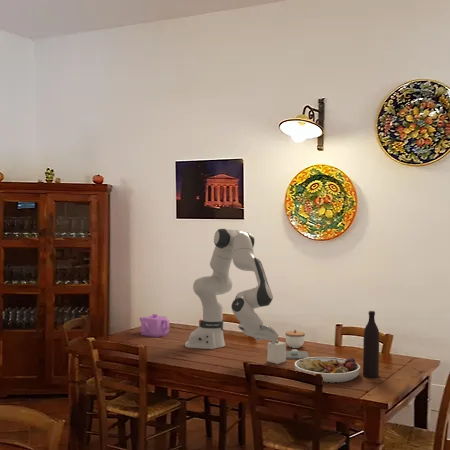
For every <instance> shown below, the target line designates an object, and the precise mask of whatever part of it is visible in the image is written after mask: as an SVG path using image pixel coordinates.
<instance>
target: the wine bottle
mask: <svg viewBox="0 0 450 450" xmlns="http://www.w3.org/2000/svg"><path fill="white" fill-rule="evenodd" d="M375 315H376V312H375V310H369V311H368V320H367V323H366V325H365V327H364V329H363V330H364V331H363V345H362V346H363V347H362V349H363V353H362V355H363V357H362V366H363V367H362V375H363V377H366V378H368V377H369V379H370V378H371V379H374V378H375V379H376V378H378V377H379V373H380V372H379V371H380V370H379V369H380V331H379V330H380V329H379V328H378V325H377V323H376V321H375V319H376V318H375Z"/></svg>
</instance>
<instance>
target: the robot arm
mask: <svg viewBox="0 0 450 450" xmlns="http://www.w3.org/2000/svg"><path fill="white" fill-rule="evenodd" d="M213 243H214V245H215V246H214V249H213V251H212V256H211V258H210V261H209V267H210V268H211V269H212V274H211V275H207V276H206V275H205V276H201V277H198V278H196V279H195V280H194V282H193V284H192V289H193V292H194V294H195V295H196V296H197V297H198V298H199V300H200V302H201V307H202V319H199V320H198V327H197V328H196V329H195V330H193V331H191V333H190V334H189V338H188V341H186V342H185V343H184V347H185V348H189V349H203V350H204V349H205V350H214V349H218V348H223V347H225V346H226V342H225V339H224V338H225V337H224V325H225V324H224V320H223V316H224V315H223V312H224V309H223V305H222V304H221V303H220V302H219V301H218V298H217V296H219V295H224V294H226V293H229V292H230V291H231V290H232V288H233V281H232V278H231V277H230V275H229V273H230V267H231V263H233V265H234V266H235V267H236V268H237V269H238V270H240V271H245V272H254V276H255V279H256V282H257V285H256V287H252V288H250V289H246V290H243V291H239V292H238V293H237V294H236V296H235V298H234V299H233V301H232V303H231V311H232V313H233V314H234V316H235V318H236V319H237V320H238V321H239V323H238V329H239V330H241V332H242V333H243V334H244V335H245V336H248V337H252V338H254V339H255V340H256V341H257V342H261V341H262V340H266V341H270V342H271V343H272V344H275V343H276V340H278V338H279V334H278V332H277V331H276V330H275V329H274V328H273V327H271V326H269V325H264V321H263V320H262V319H261V317H260V316H259V315H258V313H256V312H255V309H259V308H263V307H268V306H270V304H271V303H272V302H273V297H274V296H273V293H272V290H271V287H270V285H269V282H268V278H267V275H266V271H265V269H264V266H263V263H262V262H261V260H260V259H259V258H258V257H256V256H255V254H254V253H255V252H254V247H255V236H254V235H253V234H252V233H251V232H245V231H242V230H237V229H226V228H218V229H217V230H216V232H215V233H214V236H213Z"/></svg>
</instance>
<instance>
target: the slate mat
mask: <svg viewBox="0 0 450 450" xmlns="http://www.w3.org/2000/svg"><path fill="white" fill-rule="evenodd" d="M303 358H310V356H309V353H308V352H307V351H306V350H305V351H303V350H302V351H301V350H298V349H297V348H292V349H291V350H289V351H288V350H286V360H300V359H303Z"/></svg>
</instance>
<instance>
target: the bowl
mask: <svg viewBox="0 0 450 450" xmlns="http://www.w3.org/2000/svg"><path fill="white" fill-rule="evenodd" d="M294 369H295V371H296V370H298V371H303V372H308V373H313V374H321V375H322V377H323V381H324V382H323V383H328V382H330V383H333V384H334V383H335V382H337V383H344V382H350V381H352V380H354V379H356V378H357V377H358V376H359V374H360V372H361V365H360V364H359V363H357V362H356V360H355V357H351V356H350V357H347V358H346V359H345V358H339V357H332V356H331V357H330V356H314V357H313V356H312V357H310V356H309V358H303V359H297V360H296V361H295V362H294ZM330 383H329V384H330Z"/></svg>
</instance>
